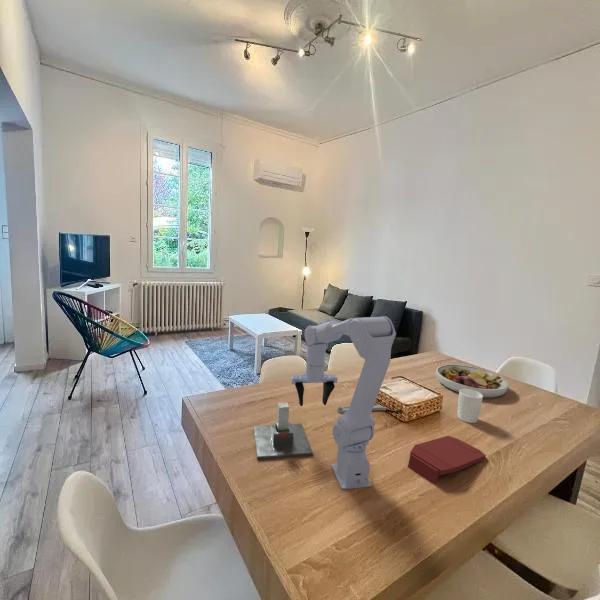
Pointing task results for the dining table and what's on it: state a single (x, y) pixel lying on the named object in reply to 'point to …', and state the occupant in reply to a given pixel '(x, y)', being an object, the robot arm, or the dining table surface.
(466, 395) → the white cup
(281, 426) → the post
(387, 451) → the dining table surface
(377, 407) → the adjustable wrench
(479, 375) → the bowl
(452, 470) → the dark red bent panel
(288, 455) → the stand
